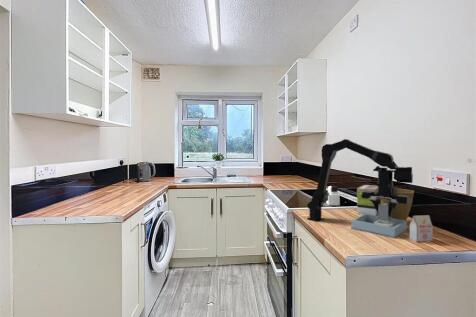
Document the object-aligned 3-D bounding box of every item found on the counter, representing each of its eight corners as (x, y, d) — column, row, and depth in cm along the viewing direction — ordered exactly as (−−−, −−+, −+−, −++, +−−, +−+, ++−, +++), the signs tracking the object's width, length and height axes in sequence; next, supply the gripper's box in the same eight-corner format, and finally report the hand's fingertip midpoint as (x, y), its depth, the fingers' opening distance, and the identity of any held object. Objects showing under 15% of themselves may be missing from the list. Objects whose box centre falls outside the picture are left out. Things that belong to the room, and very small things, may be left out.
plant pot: (407, 219, 137) (407, 188, 137) (418, 227, 123) (418, 193, 122) (375, 217, 141) (375, 187, 141) (382, 225, 127) (383, 192, 126)
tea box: (363, 208, 163) (363, 184, 162) (382, 210, 156) (382, 185, 156) (356, 213, 151) (356, 187, 150) (376, 216, 145) (376, 189, 144)
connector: (387, 220, 117) (388, 204, 117) (378, 219, 120) (378, 202, 120) (391, 219, 120) (391, 202, 119) (381, 217, 123) (381, 201, 122)
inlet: (390, 232, 115) (390, 225, 115) (373, 228, 120) (373, 222, 120) (395, 229, 120) (395, 222, 119) (379, 225, 125) (379, 219, 124)
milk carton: (409, 239, 109) (409, 214, 108) (424, 238, 109) (425, 214, 109) (416, 242, 105) (416, 217, 104) (432, 241, 106) (432, 216, 105)
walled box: (394, 238, 110) (394, 228, 109) (351, 228, 123) (351, 220, 123) (406, 229, 120) (406, 220, 120) (365, 221, 134) (366, 213, 134)
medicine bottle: (336, 203, 178) (336, 185, 178) (339, 205, 171) (339, 187, 170) (325, 203, 179) (325, 185, 178) (328, 205, 172) (328, 187, 171)
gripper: (414, 181, 117) (414, 216, 118) (370, 178, 131) (370, 209, 132) (406, 184, 110) (406, 221, 111) (361, 180, 124) (360, 213, 124)
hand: (384, 215), depth 120 cm, fingers closed on connector, 4 cm apart
